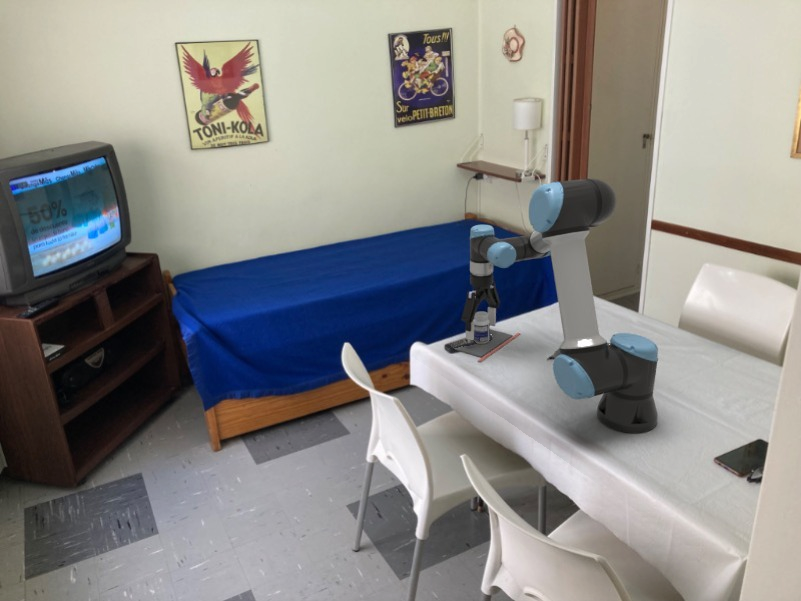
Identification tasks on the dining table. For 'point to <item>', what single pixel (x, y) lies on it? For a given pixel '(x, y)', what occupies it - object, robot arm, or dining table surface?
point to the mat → (485, 348)
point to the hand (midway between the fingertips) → (480, 332)
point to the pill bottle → (481, 328)
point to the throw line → (499, 347)
